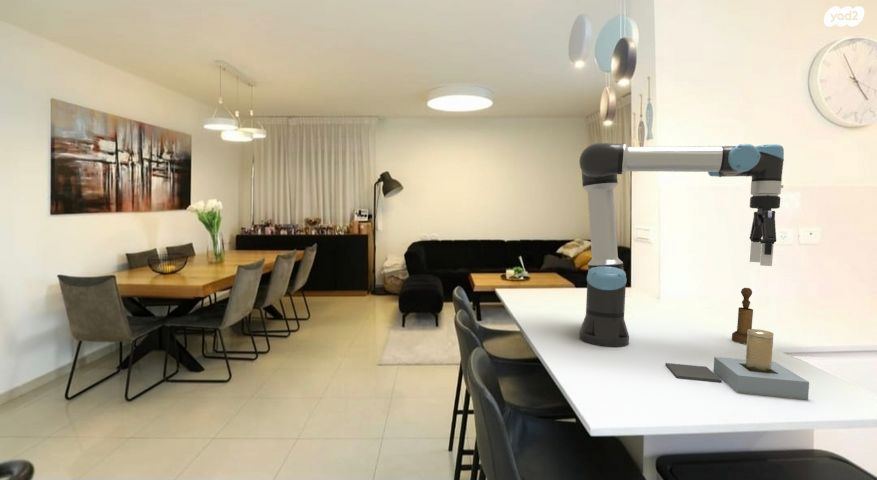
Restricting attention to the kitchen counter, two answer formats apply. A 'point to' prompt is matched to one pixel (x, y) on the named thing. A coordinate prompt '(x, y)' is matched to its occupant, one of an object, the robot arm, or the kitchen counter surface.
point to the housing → (761, 379)
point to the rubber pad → (692, 372)
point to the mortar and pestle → (744, 318)
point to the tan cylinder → (759, 351)
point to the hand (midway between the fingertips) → (760, 263)
